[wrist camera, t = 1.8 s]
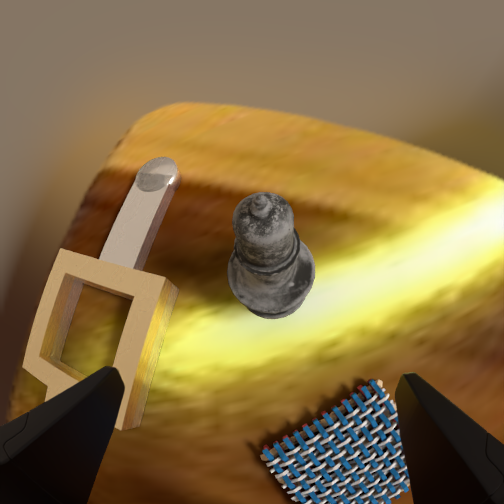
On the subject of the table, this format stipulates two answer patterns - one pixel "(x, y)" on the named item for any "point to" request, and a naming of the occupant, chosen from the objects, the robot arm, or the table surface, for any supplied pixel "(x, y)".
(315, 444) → the woven mat
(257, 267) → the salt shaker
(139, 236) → the cream handled frame
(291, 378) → the table surface
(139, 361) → the square wooden loop
